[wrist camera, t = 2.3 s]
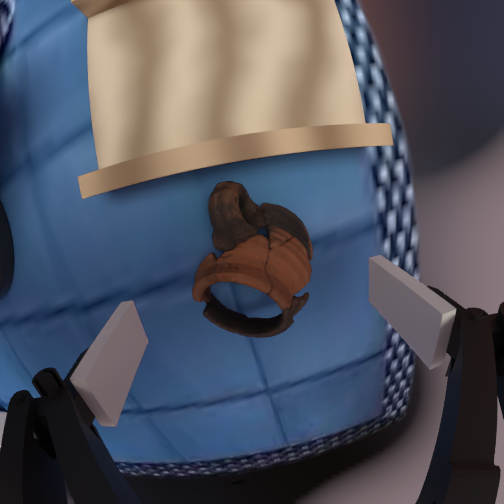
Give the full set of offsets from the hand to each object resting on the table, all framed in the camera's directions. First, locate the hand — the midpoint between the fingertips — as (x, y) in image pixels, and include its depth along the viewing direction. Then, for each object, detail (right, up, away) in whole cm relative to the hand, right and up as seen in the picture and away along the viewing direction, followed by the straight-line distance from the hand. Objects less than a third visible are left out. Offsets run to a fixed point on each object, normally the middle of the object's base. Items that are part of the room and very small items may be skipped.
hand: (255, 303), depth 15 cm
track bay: (-3, +19, +4) cm, 19 cm away
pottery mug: (0, +3, +9) cm, 10 cm away
